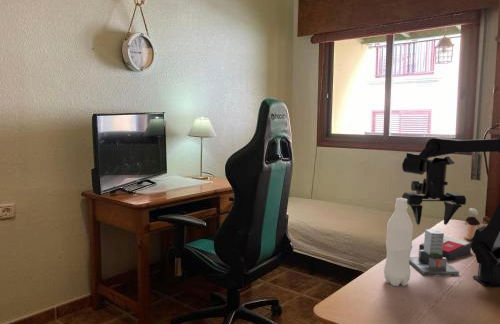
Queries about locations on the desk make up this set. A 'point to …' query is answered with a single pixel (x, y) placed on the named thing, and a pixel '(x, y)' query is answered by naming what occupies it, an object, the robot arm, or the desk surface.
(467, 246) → the button control pad
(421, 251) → the stand base
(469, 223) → the grandmother figurine
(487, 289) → the desk surface
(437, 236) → the column
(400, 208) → the water bottle
